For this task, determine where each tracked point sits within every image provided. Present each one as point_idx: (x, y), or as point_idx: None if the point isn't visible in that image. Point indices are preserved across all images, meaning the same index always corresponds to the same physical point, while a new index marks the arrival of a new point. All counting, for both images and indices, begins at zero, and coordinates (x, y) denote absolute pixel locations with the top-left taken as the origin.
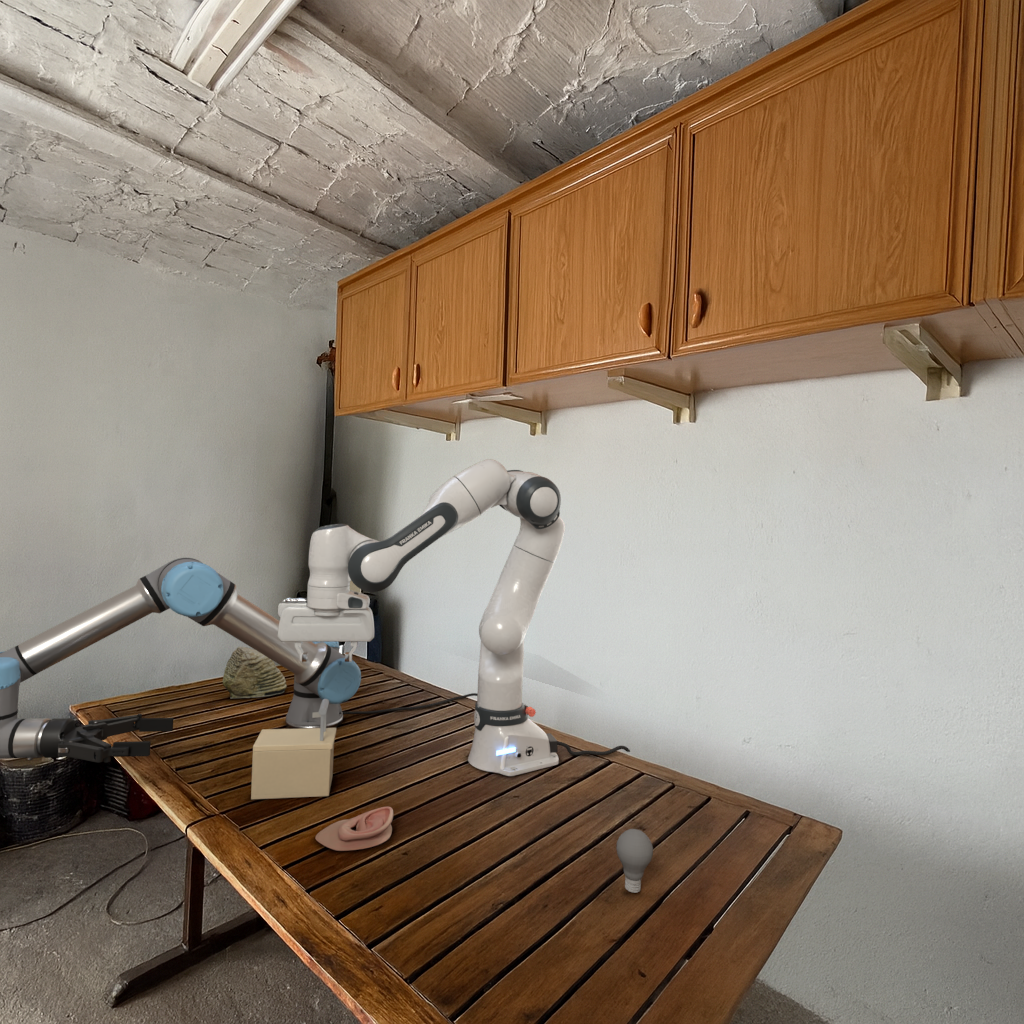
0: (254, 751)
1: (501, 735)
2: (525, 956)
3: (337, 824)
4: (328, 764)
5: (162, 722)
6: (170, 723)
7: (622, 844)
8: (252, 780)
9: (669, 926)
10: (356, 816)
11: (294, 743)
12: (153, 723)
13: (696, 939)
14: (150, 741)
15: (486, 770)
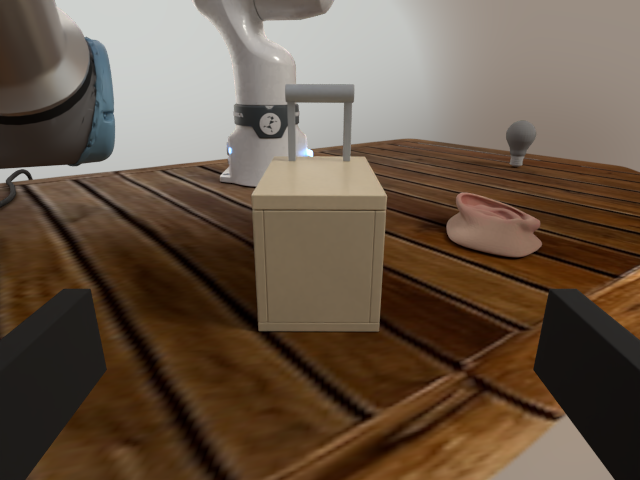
0: (383, 210)
1: (301, 134)
2: (631, 190)
3: (494, 231)
4: None
5: (58, 351)
6: (93, 324)
7: (530, 129)
8: (381, 285)
9: (549, 165)
10: (476, 216)
11: (364, 171)
12: (8, 410)
13: (557, 163)
14: (552, 289)
15: None
